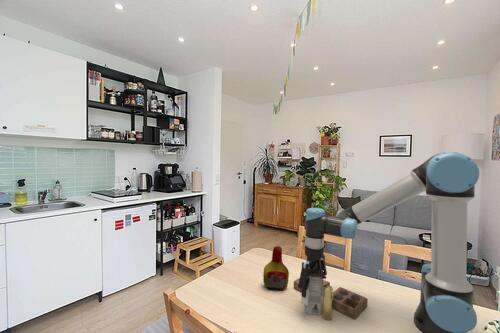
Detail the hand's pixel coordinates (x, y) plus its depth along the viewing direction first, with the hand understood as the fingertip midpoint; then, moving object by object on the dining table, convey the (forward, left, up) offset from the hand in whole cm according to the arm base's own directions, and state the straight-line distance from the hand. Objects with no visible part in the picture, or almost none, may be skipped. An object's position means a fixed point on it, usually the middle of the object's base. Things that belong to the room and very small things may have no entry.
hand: (312, 298), depth 99 cm
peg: (-7, +1, -4) cm, 8 cm away
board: (+8, -12, -4) cm, 15 cm away
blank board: (-9, -12, -4) cm, 16 cm away
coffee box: (0, 0, -4) cm, 4 cm away
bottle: (+20, 0, -4) cm, 20 cm away
